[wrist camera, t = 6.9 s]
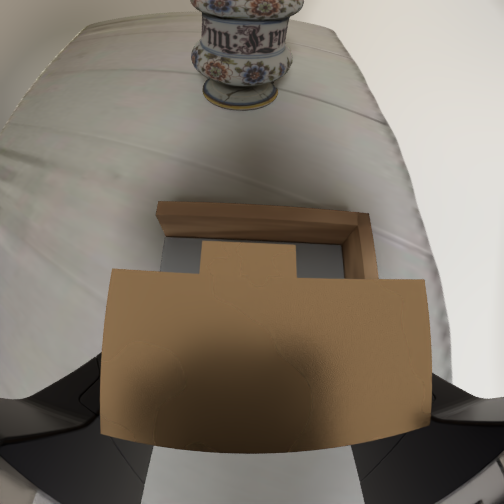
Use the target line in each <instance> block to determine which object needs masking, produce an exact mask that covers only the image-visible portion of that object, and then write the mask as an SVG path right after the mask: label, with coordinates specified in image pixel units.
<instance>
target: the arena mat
mask: <svg viewBox="0 0 504 504" xmlns="http://www.w3.org/2000/svg"><path fill="white" fill-rule="evenodd" d="M202 241H221V242H244V243H266V244H287V245H296V269H297V278H327V279H344V272H343V261H342V250H341V245H325V244H306V243H287V242H267V241H245V240H223V239H200V238H175V237H165V240H164V246H163V253H162V260H161V268H160V272H174V273H193V274H199V272H200V260H201V249H202Z"/></svg>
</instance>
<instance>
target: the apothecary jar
mask: <svg viewBox="0 0 504 504" xmlns="http://www.w3.org/2000/svg"><path fill="white" fill-rule="evenodd" d="M191 3H192V5H193V6H194V7H195V8H196V9H197V10H199V11H201V12H202V38H201V39H200V40H199V41H198V42H197V43H196V45H195V46H194V48H193V50H192V54H191V58H192V63H193V65H194V67H195V68H196V69H197V70H198V71H199V72H200V73H201V74H203V75H204V76H206V77H208V78H209V79H208V80H207V81H206V82H205V83H204V85H203V94H204V96H205V98H206V99H207V100H208V101H210V102H211V103H212V104H214V105H216V106H219V107H222V108H225V109H231V110H252V109H257V108H261V107H264V106H266V105H268V104H270V103H271V102H273V101H274V100H275V98H276V97H277V94H278V89H277V88H276V87H275V86H274V85H273V81H274V80H276V79H278V78H280V77H281V76H283V75H284V74H285V73H286V72H287V71H288V70H289V68H290V66H291V64H292V53H291V51H290V49H289V47H288V46H287V45H286V44H285V39H286V33H287V27H288V22H289V18H290V16H292V15H294V14H296V13H297V12H299V11H300V10H301V8H302V6H303V3H304V0H191Z"/></svg>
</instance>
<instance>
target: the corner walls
mask: <svg viewBox="0 0 504 504" xmlns="http://www.w3.org/2000/svg"><path fill="white" fill-rule="evenodd" d="M156 217H157V219H158V221H159V223H160V225H161V227H162V229H163V231H164V233H165V236H166V237H180V238H205V239H228V240H250V241H271V242H291V243H310V244H328V245H341V247H342V257H343V268H344V279H379V278H378V270H377V262H376V255H375V248H374V241H373V235H372V229H371V223H370V217H369V213H359V212H349V211H338V210H327V209H315V208H302V207H288V206H273V205H256V204H236V203H211V202H172V201H158V206H157V211H156Z"/></svg>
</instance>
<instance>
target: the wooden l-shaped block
mask: <svg viewBox="0 0 504 504" xmlns="http://www.w3.org/2000/svg"><path fill="white" fill-rule="evenodd" d="M431 401H432V354H431V335H430V322H429V312H428V303H427V295H426V287H425V281H424V279H418V280H413V279H327V278H297V269H296V245H287V244H266V243H244V242H221V241H202V249H201V260H200V272H199V274H193V273H174V272H157V271H141V270H126V269H112V273H111V279H110V285H109V292H108V298H107V306H106V314H105V323H104V332H103V344H102V357H101V377H100V428H101V434H103V435H107V436H111V437H115V438H119V439H124V440H128V441H133V442H138V443H143V444H148V445H154V446H160V447H167V448H174V449H182V450H191V451H202V452H215V453H243V454H259V453H286V452H300V451H310V450H319V449H327V448H335V447H341V446H347V445H353V444H359V443H364V442H369V441H373V440H378V439H382V438H386V437H390V436H394V435H398V434H402V433H405V432H409V431H412V430H416V429H419V428H422V427H425V426H428V425H430V419H431Z"/></svg>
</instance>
